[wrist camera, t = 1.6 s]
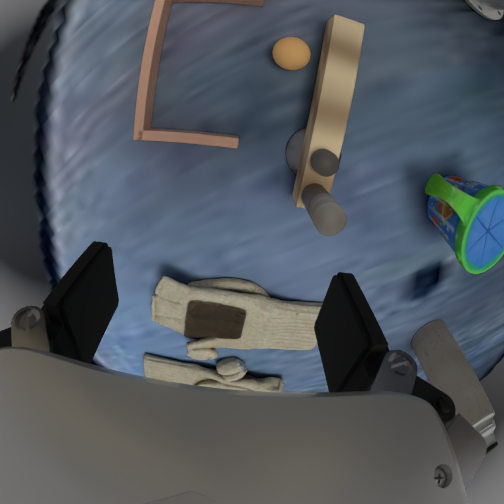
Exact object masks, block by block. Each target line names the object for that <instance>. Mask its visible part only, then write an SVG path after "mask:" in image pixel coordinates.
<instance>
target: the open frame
mask: <svg viewBox="0 0 504 504" xmlns="http://www.w3.org/2000/svg"><path fill="white" fill-rule="evenodd" d="M172 2H217V3H232V4H242V5H251V6H259V7H263V5H264V0H155V4H154V8H153V12H152V16H151V20H150V24H149V29H148V33H147V38H146V43H145V48H144V54H143V59H142V65H141V72H140V79H139V86H138V94H137V103H136V112H135V123H134V137H133V140H150V141H167V142H180V143H192V144H202V145H211V146H220V147H228V148H236V149H237V147H238V142H239V136H236V135H228V134H220V133H211V132H201V131H190V130H177V129H160V128H151V124H152V114H153V105H154V97H155V89H156V82H157V75H158V69H159V63H160V57H161V52H162V46H163V41H164V36H165V31H166V27H167V22H168V18H169V14H170V10H171V6H172Z"/></svg>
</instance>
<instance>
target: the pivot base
mask: <svg viewBox="0 0 504 504" xmlns="http://www.w3.org/2000/svg"><path fill="white" fill-rule="evenodd" d="M306 129H307V127H306V128H303V129H301V130H299V131H297V132H296V133H295V134H294V135H293V136H292V137H291V138H290V140H289V142H288V144H287V148H286V159H287V163H288V165H289V167H290V169H291V170H292V171H293V172H294V173H295V174H296V175H297V171H298V167H299V162H300V158H301V153H302V148H303V143H304V139H305V134H306ZM340 159H341V151H340V156H339V163H340Z"/></svg>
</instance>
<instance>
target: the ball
mask: <svg viewBox="0 0 504 504" xmlns="http://www.w3.org/2000/svg"><path fill="white" fill-rule="evenodd" d="M272 53H273V58H274V60H275V62H276V63H277V64H278V65H279V66H280V67H282V68H284V69H287V70H298V69H301V68H303V67H304V66H306V65H307V63H308V62H309V60H310V56H311V53H310V49H309V47H308V45H307V44H306V43H305V42H304V41H303V40H301V39H299V38H296V37H285V38H282V39H280V40H279V41H278V42H277V43H276V44H275V45H274V47H273V52H272Z"/></svg>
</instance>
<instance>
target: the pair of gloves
mask: <svg viewBox="0 0 504 504" xmlns="http://www.w3.org/2000/svg"><path fill="white" fill-rule="evenodd" d="M155 294H157V295H152V304H151V306H152V320H153V321H155V322H157V323H158V324H161V325H163V326H165V327H169V328H171V329H173V330H174V331H176V332H179V333H181V334H183V335H184V336H185V337H188V338H193V339H197V340H194V341H191V342H187V343H186V346H187V353H186V354H187V355H188V356H189V357H191V358H193V359H195V360H206V359H214V358H216V357H217V355H218V352H217V351H216V350H215V348H222V347H226V348H233V349H253V348H259V349H266V348H271V349H291V350H309V349H313V348H314V346H316V344H317V339H316V335H315V331H314V325H315V321H316V319H317V316H318V314H319V311H320V309H321V306H322V304H323V302H321V303H316V302H299V301H294V302H292V301H282V300H278V299H275V298H270V296H269V295H268V293H267V292H266V291H265V290H264V289H263V288H262V287H260V286H258V285H257V284H256V283H253V282H251V281H246V280H242V279H236V278H219V279H205V280H201V281H194V282H190V283H188V285H185V284H183V283H180V282H178V281H175V280H174V279H172V278H169V277H167V276H162V280H160V281H159V283H158V285H157V287H156V290H155ZM143 364H144V365H143V367H144V373H145V377H148V378H153V379H158V380H164V381H169V382H176V383H182V384H189V385H196V386H204V387H212V388H221V389H232V390H245V391H260V392H282V388H283V386H284V383H283V379H281V378H275V377H266V378H258V379H257V378H256V377H254V376H250V375H245V374H246V372H247V369H246V366H245V364H244V363H243V361H241V360H239V359H237V358H234V357H229V358H226V359H223V360H221V361H220V362H218V363H217V365H216V368H217V370H216V369H208V368H205V367H202V366H200V365H198V364H192V363H183V362H179V361H176V360H171V359H167V358H163V357H158V356H154V355H150V354H145V355H144V359H143Z"/></svg>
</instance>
